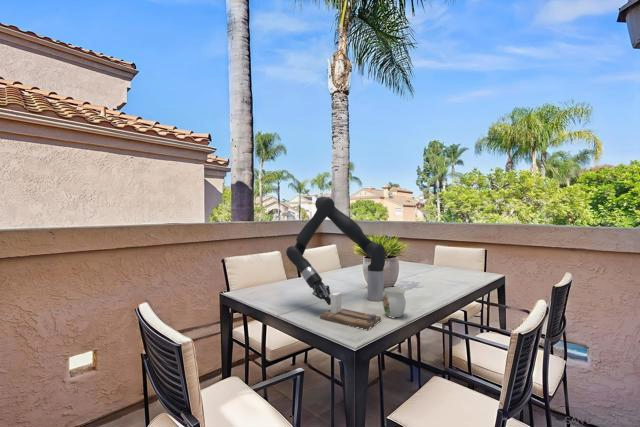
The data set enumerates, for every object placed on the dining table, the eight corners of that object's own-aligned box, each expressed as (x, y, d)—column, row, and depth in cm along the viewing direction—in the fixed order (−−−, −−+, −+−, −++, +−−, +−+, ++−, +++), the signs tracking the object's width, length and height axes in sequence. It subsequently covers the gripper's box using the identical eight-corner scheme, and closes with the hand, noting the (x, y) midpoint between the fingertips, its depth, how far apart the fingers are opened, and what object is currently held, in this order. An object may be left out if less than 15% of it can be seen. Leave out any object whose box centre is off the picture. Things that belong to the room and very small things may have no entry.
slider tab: (336, 309, 159) (336, 292, 158) (341, 310, 157) (341, 293, 157) (330, 312, 155) (330, 294, 154) (335, 313, 153) (335, 295, 153)
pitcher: (394, 308, 168) (394, 283, 167) (412, 320, 150) (412, 292, 150) (375, 310, 165) (375, 284, 164) (392, 322, 147) (392, 293, 147)
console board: (334, 310, 164) (334, 303, 164) (380, 320, 150) (380, 312, 149) (319, 318, 153) (319, 310, 153) (367, 330, 138) (367, 321, 138)
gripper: (307, 274, 157) (328, 303, 150) (322, 270, 168) (342, 296, 161) (299, 283, 160) (319, 311, 154) (314, 278, 171) (333, 304, 164)
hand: (331, 303), depth 157 cm, fingers closed
